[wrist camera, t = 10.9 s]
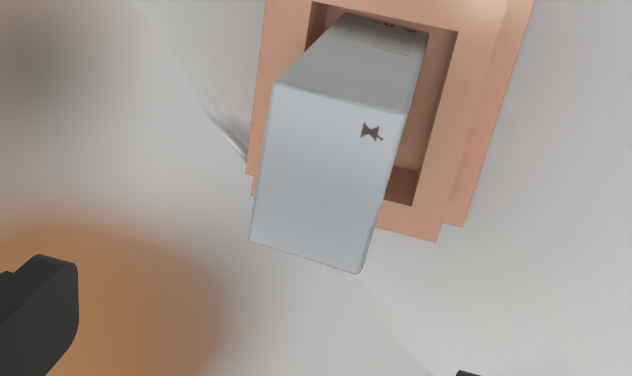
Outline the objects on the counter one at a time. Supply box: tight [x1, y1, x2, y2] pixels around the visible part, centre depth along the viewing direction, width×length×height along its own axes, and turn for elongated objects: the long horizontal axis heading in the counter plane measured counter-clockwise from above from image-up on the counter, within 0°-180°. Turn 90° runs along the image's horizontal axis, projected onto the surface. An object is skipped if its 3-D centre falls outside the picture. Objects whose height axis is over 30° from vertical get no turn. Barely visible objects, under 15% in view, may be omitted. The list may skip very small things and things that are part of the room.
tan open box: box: [245, 0, 535, 242], centre depth 28 cm, size 12×13×5 cm
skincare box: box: [248, 12, 429, 274], centre depth 24 cm, size 6×4×12 cm
